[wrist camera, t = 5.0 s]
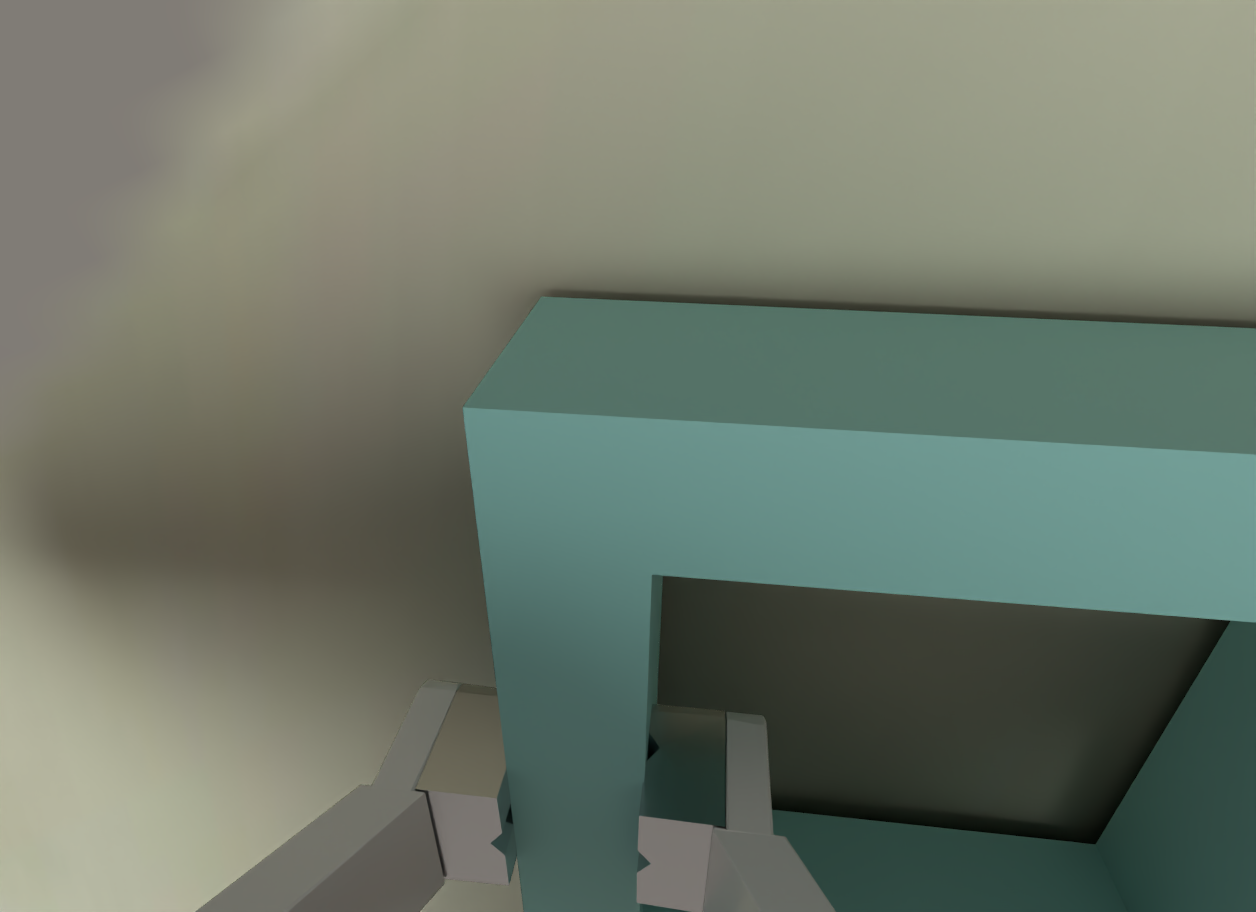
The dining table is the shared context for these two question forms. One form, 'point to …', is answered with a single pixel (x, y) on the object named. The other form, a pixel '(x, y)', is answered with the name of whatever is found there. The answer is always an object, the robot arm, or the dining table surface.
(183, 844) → the dining table surface
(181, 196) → the dining table surface
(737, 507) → the teal square frame
